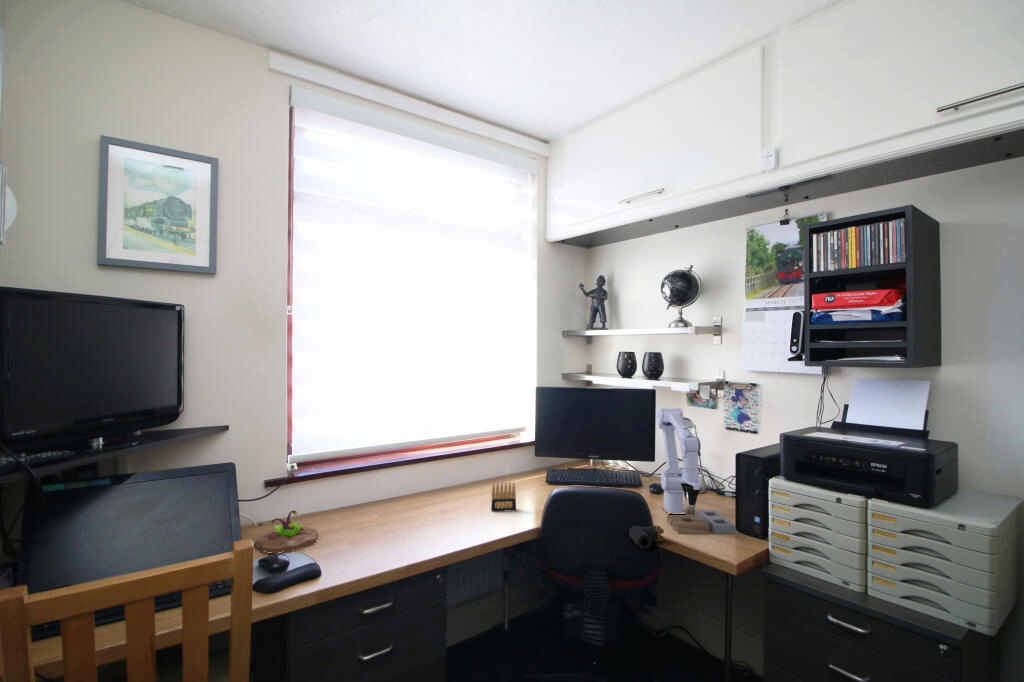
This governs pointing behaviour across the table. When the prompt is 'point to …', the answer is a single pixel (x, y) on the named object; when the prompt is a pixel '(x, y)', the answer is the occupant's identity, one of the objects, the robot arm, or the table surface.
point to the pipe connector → (646, 535)
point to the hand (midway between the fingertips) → (690, 503)
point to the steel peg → (690, 507)
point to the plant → (287, 536)
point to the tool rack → (717, 522)
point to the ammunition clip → (503, 498)
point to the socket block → (688, 524)
